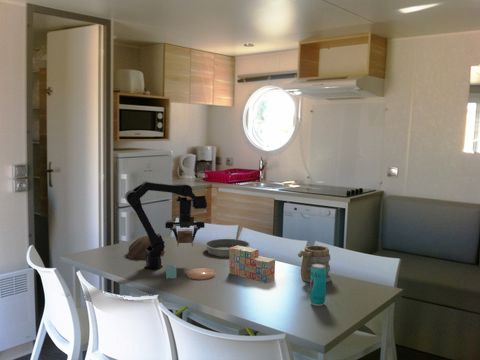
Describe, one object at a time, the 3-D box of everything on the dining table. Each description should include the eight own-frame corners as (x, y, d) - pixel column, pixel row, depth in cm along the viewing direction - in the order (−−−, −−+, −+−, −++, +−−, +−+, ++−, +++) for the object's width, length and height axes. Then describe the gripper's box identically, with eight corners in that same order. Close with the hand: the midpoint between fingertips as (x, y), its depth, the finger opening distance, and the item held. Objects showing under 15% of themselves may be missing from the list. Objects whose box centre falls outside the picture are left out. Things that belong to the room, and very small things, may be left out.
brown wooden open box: (177, 246, 224) (177, 232, 224) (177, 242, 231) (177, 229, 231) (192, 246, 225) (192, 232, 224) (192, 242, 232) (192, 228, 231)
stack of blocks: (275, 279, 208) (275, 252, 207) (267, 283, 203) (267, 255, 202) (237, 270, 221) (237, 244, 220) (228, 273, 216) (229, 247, 215)
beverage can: (308, 301, 181) (309, 263, 180) (322, 300, 182) (324, 263, 180) (311, 306, 176) (312, 267, 174) (326, 306, 176) (328, 267, 175)
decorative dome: (154, 248, 261) (154, 230, 260) (171, 256, 245) (171, 237, 244) (121, 253, 250) (121, 234, 249) (136, 261, 234) (136, 242, 233)
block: (166, 278, 208) (166, 267, 207) (166, 275, 212) (166, 264, 211) (176, 278, 208) (176, 267, 208) (176, 275, 212) (176, 264, 212)
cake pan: (250, 258, 242) (250, 249, 242) (202, 257, 243) (202, 249, 242) (249, 246, 267) (250, 238, 266) (206, 245, 267) (206, 238, 267)
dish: (181, 276, 210) (181, 273, 210) (197, 269, 222) (197, 266, 222) (205, 281, 204) (205, 278, 204) (220, 273, 215) (220, 270, 215)
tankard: (313, 272, 218) (313, 241, 216) (336, 279, 209) (337, 246, 207) (285, 282, 204) (285, 248, 202) (308, 289, 195) (309, 254, 193)
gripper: (164, 212, 218) (164, 245, 219) (204, 212, 219) (204, 245, 221) (165, 208, 229) (166, 240, 230) (204, 208, 230) (204, 239, 232)
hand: (185, 241), depth 228 cm, fingers closed on brown wooden open box, 7 cm apart
